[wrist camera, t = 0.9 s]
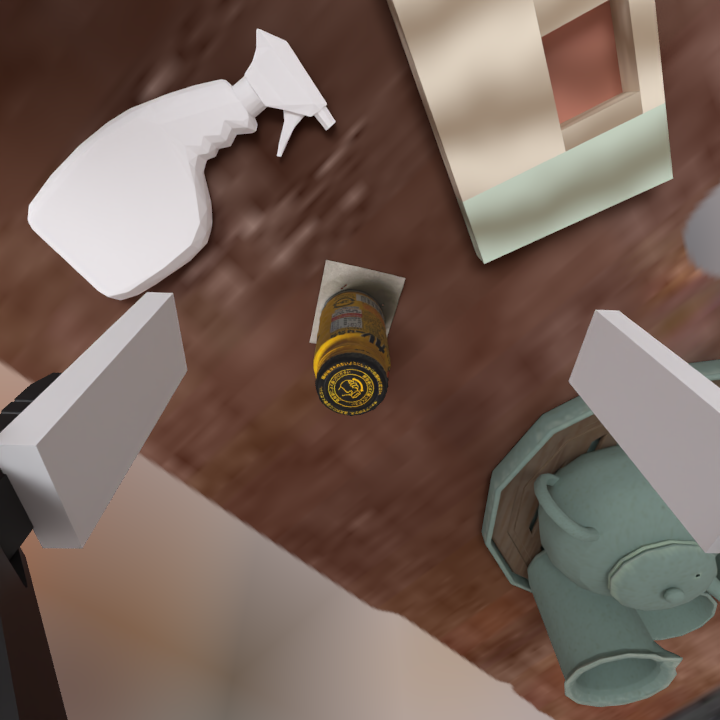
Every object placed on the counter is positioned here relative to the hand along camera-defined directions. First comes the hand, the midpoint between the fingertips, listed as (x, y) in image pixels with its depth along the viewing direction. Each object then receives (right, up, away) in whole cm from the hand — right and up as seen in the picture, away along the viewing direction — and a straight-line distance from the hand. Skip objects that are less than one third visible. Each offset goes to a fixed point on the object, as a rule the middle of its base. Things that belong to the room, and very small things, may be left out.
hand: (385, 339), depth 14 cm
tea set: (+34, -17, +40) cm, 55 cm away
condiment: (-1, +4, +27) cm, 27 cm away
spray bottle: (-15, +15, +21) cm, 30 cm away
